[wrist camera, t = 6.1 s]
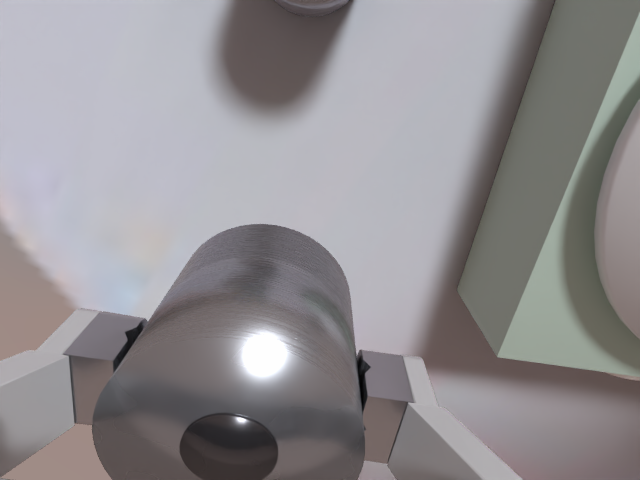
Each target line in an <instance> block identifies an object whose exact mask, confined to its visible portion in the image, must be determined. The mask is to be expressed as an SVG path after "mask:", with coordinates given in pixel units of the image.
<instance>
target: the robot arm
mask: <svg viewBox="0 0 640 480" xmlns="http://www.w3.org/2000/svg"><path fill="white" fill-rule="evenodd" d="M147 323H148V321H147V320H146V319H145V318H140V317H134V316H128V315H122V314H116V313H110V312H104V311H103V312H102V311H97V310H90V309H84V308H81V309H77V310H76V311H74V312H73V313H72V314H71V316H69V317H68V319H67V320H66V321H65V322H64V323H63V324H62V325H61V326H60V327H59V328H58V329H57V330H56V331H55V332H54V333H53V334H52V335H51V336H50V337H49V338H48V339H47V340H46V341H45V342H44V343H43V344H42V345H41V346H40V347H39V348H38V349H37V350H36V351H31V350H27V351H25V352H22V353H20V354H17V355H14V356H12V357H9V358H7V359H4V360H2V361H0V477H2V476H3V475H4V474H6V473H7V472H9V471H10V470H12V469H13V468H14V467H16V466H17V465H19V464H20V463H22V462H23V461H25V460H26V459H27V458H29V457H30V456H31V455H33V454H35V453H36V452H37V451H39V450H40V449H42V448H43V447H45V446H46V445H48V444H49V443H50V442H52V441H53V440H55V439H56V438H57V437H59V436H60V435H62V434H63V433H65V432H66V431H68V430H69V429H71V428H72V427H73V426H75V423H77V424H87V425H92V418H93V414H94V409H95V405H96V403H97V400H98V398H99V396H100V393H101V392H102V390H103V389H104V387H105V386H106V384H107V383H108V381H109V380H110V378H111V377H112V375H113V374H114V372H115V371H116V369H117V368H118V366H119V365H120V363H121V362H122V360H123V359H124V357H125V356H126V354H127V353H128V351H129V350H130V348H131V347H132V345H133V344H134V342H135V341H136V339H137V338H138V336H139V335H140V333H141V332H142V330H143V329H144V327H145V326H146V324H147ZM357 366H358V376H359V385H360V395H361V405H362V415H363V424H364V434H365V457H364V460H367V461H373V462H380V463H386V464H388V465H387V466H388V467H389V469H390V470H391V472H392V473H393V475H394V476H395V478H396V479H397V480H523V479H522V478H521V477H520V476H519V475H517V474H516V473H515V472H514V471H513V470H512V469H511V468H510V467H509V466H508V465H507V464H506V463H504V462H503V461H502V460H501V459H500V458H499V457H498V456H497V455H496V454H495V453H494V452H492V451H491V450H490V449H489V448H488V447H487V446H486V445H485V444H484V443H483V442H482V441H481V440H479V439H478V438H477V437H476V436H475V435H474V434H473V433H472V432H471V431H470V430H469V429H468V428H466V427H465V426H464V425H463V424H462V423H461V422H460V421H459V420H458V419H457V418H456V417H454V416H453V415H452V414H451V413H450V412H449V411H448V410H447V409H446V408H444V407H439V406H438V403H437V400H436V397H435V394H434V391H433V388H432V385H431V382H430V379H429V376H428V373H427V370H426V367H425V364H424V361H423V359H422V358H421V357H417V356H409V355H395V354H388V353H380V352H373V351H366V350H359V353H358V355H357ZM0 480H10V479H2V478H0Z"/></svg>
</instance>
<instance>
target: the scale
mask: <svg viewBox="0 0 640 480" xmlns="http://www.w3.org/2000/svg"><path fill="white" fill-rule="evenodd" d="M457 292H458V294H459V295H460V297H461V298H462V300H463V302H464V303H465V305H466V307H467V308H468V310H469V312H470V313H471V315H472V317H473V318H474V320H475V322H476V323H477V325H478V327H479V328H480V330H481V332H482V333H483V335H484V337H485V338H486V340H487V342H488V343H489V345H490V346H491V348H492V350H493V351H494V353H495V355H496V356H497V357H499V358H507V359H514V360H521V361H528V362H535V363H543V364H550V365H557V366H564V367H571V368H579V369H586V370H593V371H600V372H605V373H607V374H610V375H613V376H616V377H620V378H624V379H628V380H636V381H640V0H556V1H555V4H554V7H553V10H552V12H551V15H550V18H549V21H548V24H547V27H546V30H545V33H544V36H543V39H542V42H541V45H540V48H539V51H538V53H537V56H536V59H535V62H534V65H533V68H532V71H531V74H530V77H529V80H528V83H527V86H526V89H525V92H524V94H523V97H522V100H521V103H520V106H519V109H518V112H517V115H516V118H515V121H514V124H513V127H512V130H511V133H510V135H509V138H508V141H507V144H506V147H505V150H504V153H503V156H502V159H501V162H500V165H499V168H498V171H497V174H496V176H495V179H494V182H493V185H492V188H491V191H490V194H489V197H488V200H487V203H486V206H485V209H484V212H483V215H482V217H481V220H480V223H479V226H478V229H477V232H476V235H475V238H474V241H473V244H472V247H471V250H470V253H469V256H468V258H467V261H466V264H465V267H464V270H463V273H462V276H461V279H460V282H459V285H458V288H457Z"/></svg>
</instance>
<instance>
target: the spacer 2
mask: <svg viewBox="0 0 640 480" xmlns="http://www.w3.org/2000/svg"><path fill="white" fill-rule="evenodd" d="M275 1H276V2H277V3H278V4H279V5H280V6H282V7H283V8H285V9H286V10H288V11H290V12H292V13H295V14H298V15H301V16H308V17H317V16H323V15H327V14H330V13H332V12H334V11H336V10H338V9H340V8H341V7H343V6H344V5H345V4H346V3H347V2H349V1H350V0H275Z"/></svg>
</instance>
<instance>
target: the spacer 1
mask: <svg viewBox="0 0 640 480" xmlns="http://www.w3.org/2000/svg"><path fill="white" fill-rule="evenodd" d="M92 433H93V440H94V445H95V448H96V451H97V454H98V457H99V459H100V461H101V463H102V465H103V467H104V469H105V470H106V471H107V473H108V474H109V476H110V477H111V479H112V480H357V479H358V477H359V474H360V472H361V469H362V467H363V462H364V457H365V434H364V424H363V415H362V405H361V395H360V385H359V376H358V366H357V356H356V346H355V337H354V327H353V317H352V307H351V298H350V291H349V286H348V283H347V280H346V277H345V275H344V273H343V271H342V268H341V267H340V265H339V264H338V262H337V261H336V259H335V258H334V257H333V256H332V255H331V254H330V253H329V252H328V251H327V250H326V249H325V248H324V247H323V246H322V245H320V244H319V243H318V242H316V241H315V240H313V239H312V238H310V237H308V236H306V235H304V234H302V233H300V232H298V231H295V230H292V229H289V228H286V227H281V226H277V225H268V224H251V225H244V226H238V227H235V228H231V229H228V230H226V231H223V232H221V233H219V234H217V235H215V236H214V237H212V238H210V239H209V240H207V241H206V242H205V243H204V244H202V245H201V246H200V247H199V248H198V249H197V250H196V251H195V253H194V254H193V255H192V257H191V258H190V260H189V261H188V263H187V264H186V266H185V267H184V269H183V270H182V272H181V273H180V275H179V276H178V278H177V279H176V281H175V282H174V284H173V285H172V287H171V288H170V290H169V291H168V293H167V294H166V296H165V297H164V299H163V300H162V302H161V303H160V305H159V306H158V308H157V309H156V311H155V312H154V314H153V315H152V317H151V318H150V320H149V321H148V323H147V324H146V326H145V327H144V329H143V330H142V332H141V333H140V335H139V336H138V338H137V339H136V341H135V342H134V344H133V345H132V347H131V348H130V350H129V351H128V353H127V354H126V356H125V357H124V359H123V360H122V362H121V363H120V365H119V366H118V368H117V369H116V371H115V372H114V374H113V375H112V377H111V378H110V380H109V381H108V383H107V384H106V386H105V387H104V389H103V390H102V392H101V393H100V396H99V398H98V400H97V403H96V405H95V409H94V414H93V418H92Z"/></svg>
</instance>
